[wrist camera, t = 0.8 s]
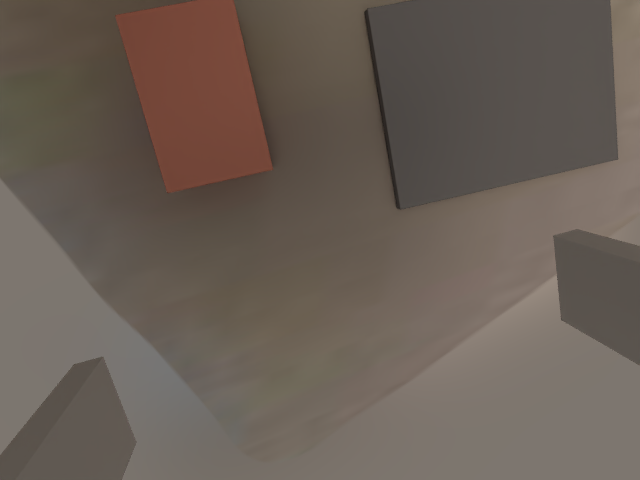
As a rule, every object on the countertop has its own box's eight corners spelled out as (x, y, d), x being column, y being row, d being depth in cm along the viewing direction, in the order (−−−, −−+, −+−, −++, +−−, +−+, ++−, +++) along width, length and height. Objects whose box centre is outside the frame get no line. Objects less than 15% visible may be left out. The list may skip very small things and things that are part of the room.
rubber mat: (364, 12, 30) (367, 8, 29) (599, -31, 32) (608, -36, 31) (397, 208, 33) (400, 209, 32) (610, 159, 35) (618, 159, 34)
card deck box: (138, 38, 29) (115, 15, 24) (236, 20, 29) (231, -7, 24) (181, 186, 31) (167, 193, 26) (270, 166, 32) (273, 169, 27)
